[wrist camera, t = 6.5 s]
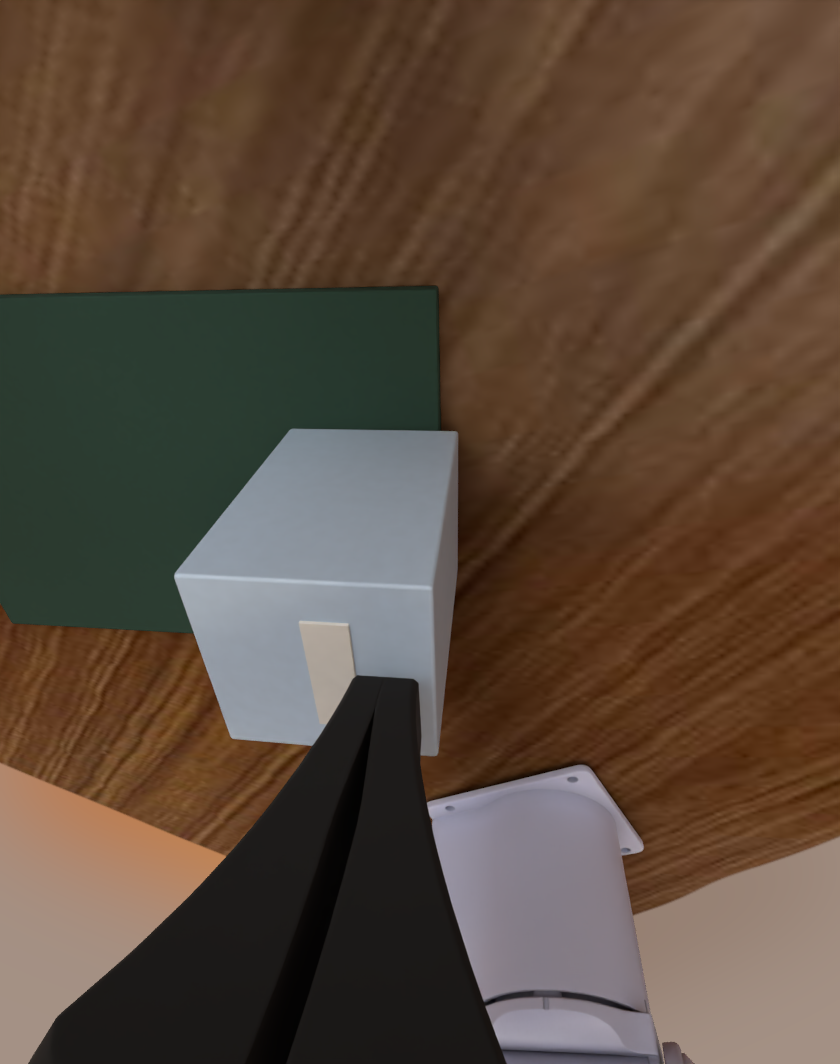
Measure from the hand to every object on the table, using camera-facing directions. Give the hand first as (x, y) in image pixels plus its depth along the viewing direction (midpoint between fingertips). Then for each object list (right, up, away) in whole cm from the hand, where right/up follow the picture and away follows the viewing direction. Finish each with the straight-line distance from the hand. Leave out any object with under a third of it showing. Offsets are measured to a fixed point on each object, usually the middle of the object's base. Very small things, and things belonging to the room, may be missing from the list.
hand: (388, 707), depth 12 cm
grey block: (-1, +3, +4) cm, 5 cm away
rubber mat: (-8, +5, +9) cm, 13 cm away
